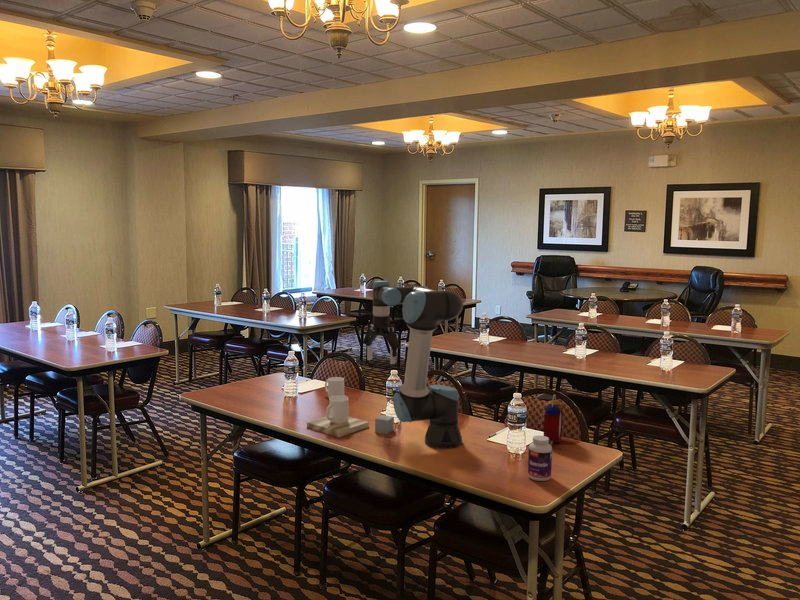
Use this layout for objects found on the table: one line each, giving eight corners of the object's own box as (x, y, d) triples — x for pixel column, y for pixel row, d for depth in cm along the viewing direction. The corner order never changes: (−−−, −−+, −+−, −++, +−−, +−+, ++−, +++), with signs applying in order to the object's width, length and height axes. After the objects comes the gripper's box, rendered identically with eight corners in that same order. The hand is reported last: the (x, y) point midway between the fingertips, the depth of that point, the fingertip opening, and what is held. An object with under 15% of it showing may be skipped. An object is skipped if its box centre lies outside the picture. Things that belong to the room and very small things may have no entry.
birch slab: (368, 428, 278) (368, 421, 278) (339, 438, 264) (339, 431, 264) (336, 419, 291) (336, 413, 291) (306, 428, 277) (306, 422, 277)
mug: (332, 428, 270) (332, 405, 268) (319, 423, 275) (319, 400, 273) (352, 420, 279) (352, 398, 277) (339, 415, 284) (338, 393, 282)
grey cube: (393, 430, 274) (393, 416, 273) (387, 434, 269) (387, 420, 268) (381, 428, 277) (381, 415, 276) (375, 432, 271) (375, 418, 270)
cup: (336, 401, 319) (336, 381, 318) (319, 397, 326) (319, 378, 325) (347, 397, 326) (347, 378, 325) (330, 394, 333) (330, 375, 332)
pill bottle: (525, 480, 220) (527, 440, 218) (529, 472, 228) (530, 433, 226) (549, 483, 217) (550, 443, 216) (552, 475, 225) (554, 435, 223)
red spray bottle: (558, 448, 252) (560, 399, 250) (536, 445, 255) (538, 397, 253) (562, 437, 266) (564, 390, 264) (541, 434, 269) (543, 388, 267)
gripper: (408, 316, 279) (408, 364, 282) (365, 311, 295) (366, 356, 297) (397, 318, 273) (397, 366, 276) (355, 313, 289) (355, 359, 291)
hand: (381, 361), depth 286 cm, fingers open, 13 cm apart
